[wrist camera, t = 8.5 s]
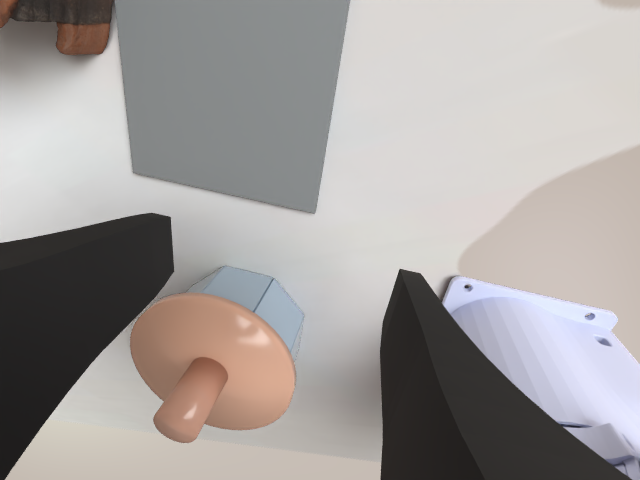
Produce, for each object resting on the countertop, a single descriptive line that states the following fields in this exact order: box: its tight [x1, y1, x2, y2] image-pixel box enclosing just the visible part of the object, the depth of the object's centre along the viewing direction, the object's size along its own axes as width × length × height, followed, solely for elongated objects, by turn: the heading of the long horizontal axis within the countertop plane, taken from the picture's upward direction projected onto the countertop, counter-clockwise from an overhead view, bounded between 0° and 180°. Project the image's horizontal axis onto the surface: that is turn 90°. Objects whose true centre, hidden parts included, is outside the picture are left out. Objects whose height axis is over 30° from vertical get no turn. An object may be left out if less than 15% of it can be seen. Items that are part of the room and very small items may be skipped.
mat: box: [115, 0, 350, 213], centre depth 18 cm, size 12×12×1 cm
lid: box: [130, 292, 296, 443], centre depth 19 cm, size 10×10×4 cm
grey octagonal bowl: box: [186, 266, 304, 362], centre depth 23 cm, size 9×9×5 cm
